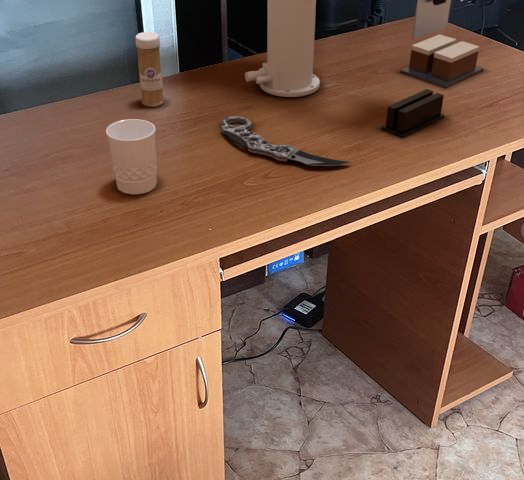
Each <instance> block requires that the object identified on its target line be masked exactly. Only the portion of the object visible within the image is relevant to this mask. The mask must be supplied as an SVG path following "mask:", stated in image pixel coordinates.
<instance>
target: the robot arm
mask: <svg viewBox="0 0 524 480" xmlns="http://www.w3.org/2000/svg"><path fill="white" fill-rule="evenodd" d="M445 2H446V0H433V4H434V5H436V6H437V5H440V4H443V3H445ZM266 7H267V23H266V24H267V26H266V27H267V28H266V29H267V31H266V32H267V34H266V35H267V36H266V38H267V42H266V46H267V47H266V48H267V49H266V60H267V61H266V62H263V63H262V67H260V68H258V70H251V71H246V72H245V73H244V79H245V81H246V83H248V82H255V83H256V85H259V87H260V89H261V90H262V91H264V92H265V93H267V94H269V95H272V96H277V97H282V98H300V97H306V96H308V95H312V94H314V93H315V92H317V91H318V90H319V89H320V83H321V80H320V78H319V77H318V76H317V75H315V74H314V58H315V57H314V55H315V54H314V53H315V35H316V33H315V32H316V14H317V13H316V12H317V11H316V10H317V8H316V7H317V0H267V5H266Z"/></svg>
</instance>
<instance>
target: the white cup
mask: <svg viewBox="0 0 524 480" xmlns="http://www.w3.org/2000/svg"><path fill="white" fill-rule="evenodd" d="M105 135H106V139H107V140H106V141H107V145H108V150H109V151H108V152H109V157H110V162H111V167H112V171H113V172H112V173H113V175H114V178H115V184H116V187H117V190H118V191H120V192H121V193H123V194H127V195H128V194H129V195H142V194H146V193H150V192H151V191H153V190H154V189H156V188H157V187H156V186H157V184H158V176H157V175H158V173H157V170H158V167H157V166H158V163H157V157H158V153H157V133H156V126H155V125H154V123H152V122H150V121H148V120H146V119H140V118H139V119H138V118H128V119H121V120H117V121H115V122H112V123H110V124H109V125H108V126H107V127H106V130H105Z"/></svg>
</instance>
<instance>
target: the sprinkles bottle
mask: <svg viewBox="0 0 524 480" xmlns="http://www.w3.org/2000/svg"><path fill="white" fill-rule="evenodd" d="M160 45H161V41H160V35H159V33H156V32H153V31H142V32H139V33H137V34H136V35H135V46H136V50H137V66H138V75H139V84H140V93H141V104H142V105H143V106H145V107H149V108H155V107H156V108H157V107H160V106H162V105H164V103H165V99H164V92H163V74H162V73H163V72H162V61H161V52H160V47H161V46H160Z"/></svg>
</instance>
